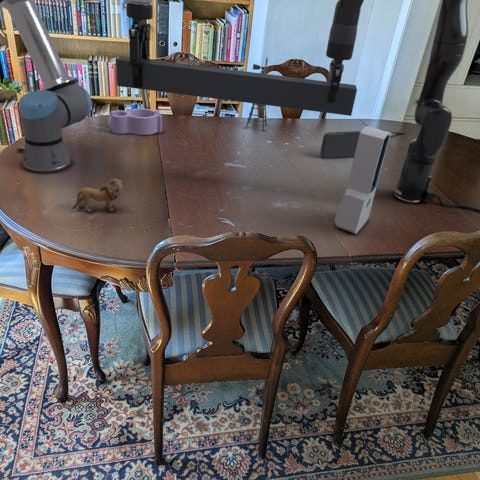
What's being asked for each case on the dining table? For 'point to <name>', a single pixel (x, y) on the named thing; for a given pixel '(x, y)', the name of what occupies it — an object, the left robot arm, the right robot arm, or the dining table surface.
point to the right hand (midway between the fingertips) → (330, 99)
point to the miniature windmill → (257, 67)
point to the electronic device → (362, 179)
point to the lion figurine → (100, 194)
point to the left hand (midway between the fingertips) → (140, 84)
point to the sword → (396, 133)
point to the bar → (237, 86)
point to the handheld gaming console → (339, 144)
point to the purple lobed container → (136, 121)
